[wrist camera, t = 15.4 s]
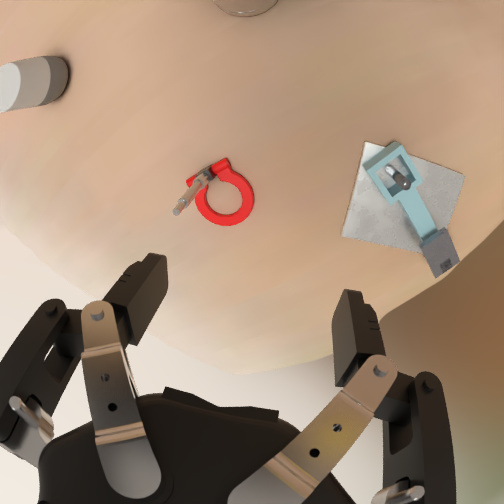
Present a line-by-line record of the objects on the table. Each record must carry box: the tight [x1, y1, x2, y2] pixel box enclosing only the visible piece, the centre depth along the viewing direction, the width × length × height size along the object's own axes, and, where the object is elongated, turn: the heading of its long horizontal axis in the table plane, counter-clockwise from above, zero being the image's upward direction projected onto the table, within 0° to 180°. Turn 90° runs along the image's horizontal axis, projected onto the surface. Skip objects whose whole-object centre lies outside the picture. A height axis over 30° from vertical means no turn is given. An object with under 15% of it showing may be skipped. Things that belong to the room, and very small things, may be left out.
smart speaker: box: [0, 56, 68, 113], centre depth 28 cm, size 10×9×14 cm
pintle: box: [385, 165, 411, 190], centre depth 33 cm, size 1×1×7 cm
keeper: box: [419, 227, 460, 278], centre depth 38 cm, size 7×5×6 cm
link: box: [362, 141, 438, 242], centre depth 36 cm, size 17×6×3 cm, turn 43°
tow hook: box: [173, 158, 254, 226], centre depth 37 cm, size 9×14×10 cm
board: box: [341, 141, 465, 254], centre depth 38 cm, size 15×18×1 cm
